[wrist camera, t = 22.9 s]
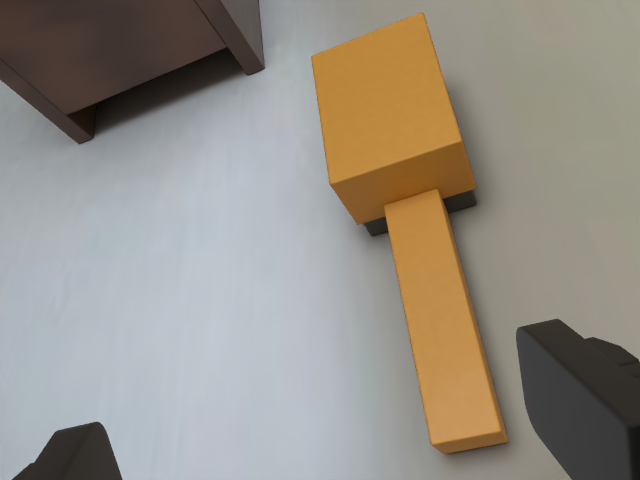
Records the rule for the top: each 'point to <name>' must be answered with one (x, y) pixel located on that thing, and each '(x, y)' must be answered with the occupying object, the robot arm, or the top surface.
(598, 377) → the robot arm
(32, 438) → the top surface
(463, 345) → the brush
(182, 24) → the shelf
